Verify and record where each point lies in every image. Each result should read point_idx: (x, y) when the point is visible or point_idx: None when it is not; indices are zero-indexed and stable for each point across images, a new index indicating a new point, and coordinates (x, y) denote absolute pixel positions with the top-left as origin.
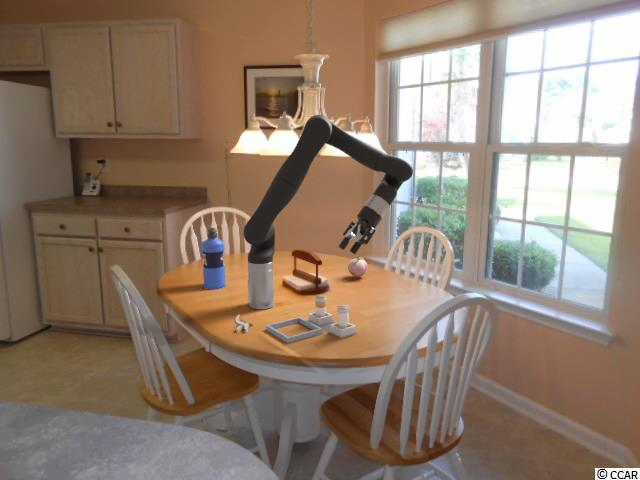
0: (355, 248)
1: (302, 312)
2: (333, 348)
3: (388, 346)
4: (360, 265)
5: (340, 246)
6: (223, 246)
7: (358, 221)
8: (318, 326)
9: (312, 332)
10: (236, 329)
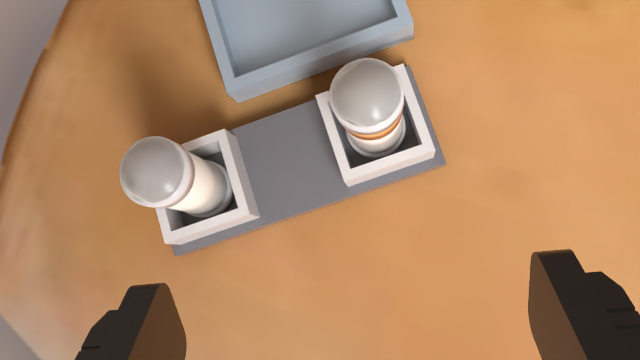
0: (88, 357)
1: (575, 87)
2: (111, 112)
3: (49, 339)
4: None
5: (537, 268)
6: None
7: None
8: (314, 102)
9: (212, 42)
10: None
